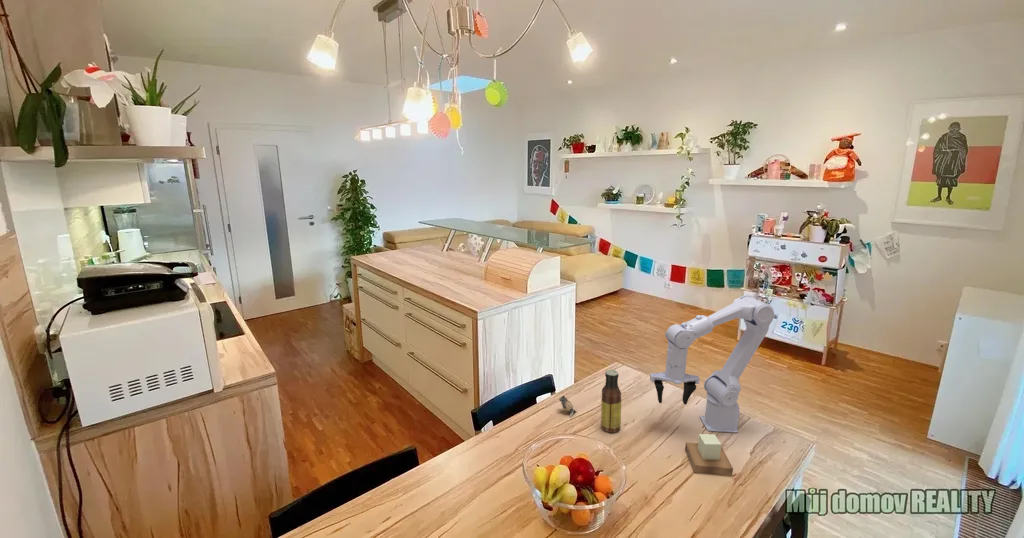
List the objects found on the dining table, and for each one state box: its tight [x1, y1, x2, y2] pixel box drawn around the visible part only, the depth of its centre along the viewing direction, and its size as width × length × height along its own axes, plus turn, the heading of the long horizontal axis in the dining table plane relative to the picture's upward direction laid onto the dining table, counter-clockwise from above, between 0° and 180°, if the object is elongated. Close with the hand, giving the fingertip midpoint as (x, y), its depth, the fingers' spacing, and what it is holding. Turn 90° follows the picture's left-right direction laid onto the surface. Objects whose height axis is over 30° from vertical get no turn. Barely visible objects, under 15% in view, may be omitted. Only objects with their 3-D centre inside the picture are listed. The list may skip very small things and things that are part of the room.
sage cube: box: [697, 433, 722, 460], centre depth 123 cm, size 4×4×5 cm
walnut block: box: [684, 441, 734, 477], centre depth 124 cm, size 10×10×3 cm
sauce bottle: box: [600, 369, 622, 434], centre depth 137 cm, size 6×6×20 cm
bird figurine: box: [558, 395, 577, 419], centre depth 147 cm, size 5×5×6 cm
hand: (672, 402), depth 136 cm, fingers open, 7 cm apart
